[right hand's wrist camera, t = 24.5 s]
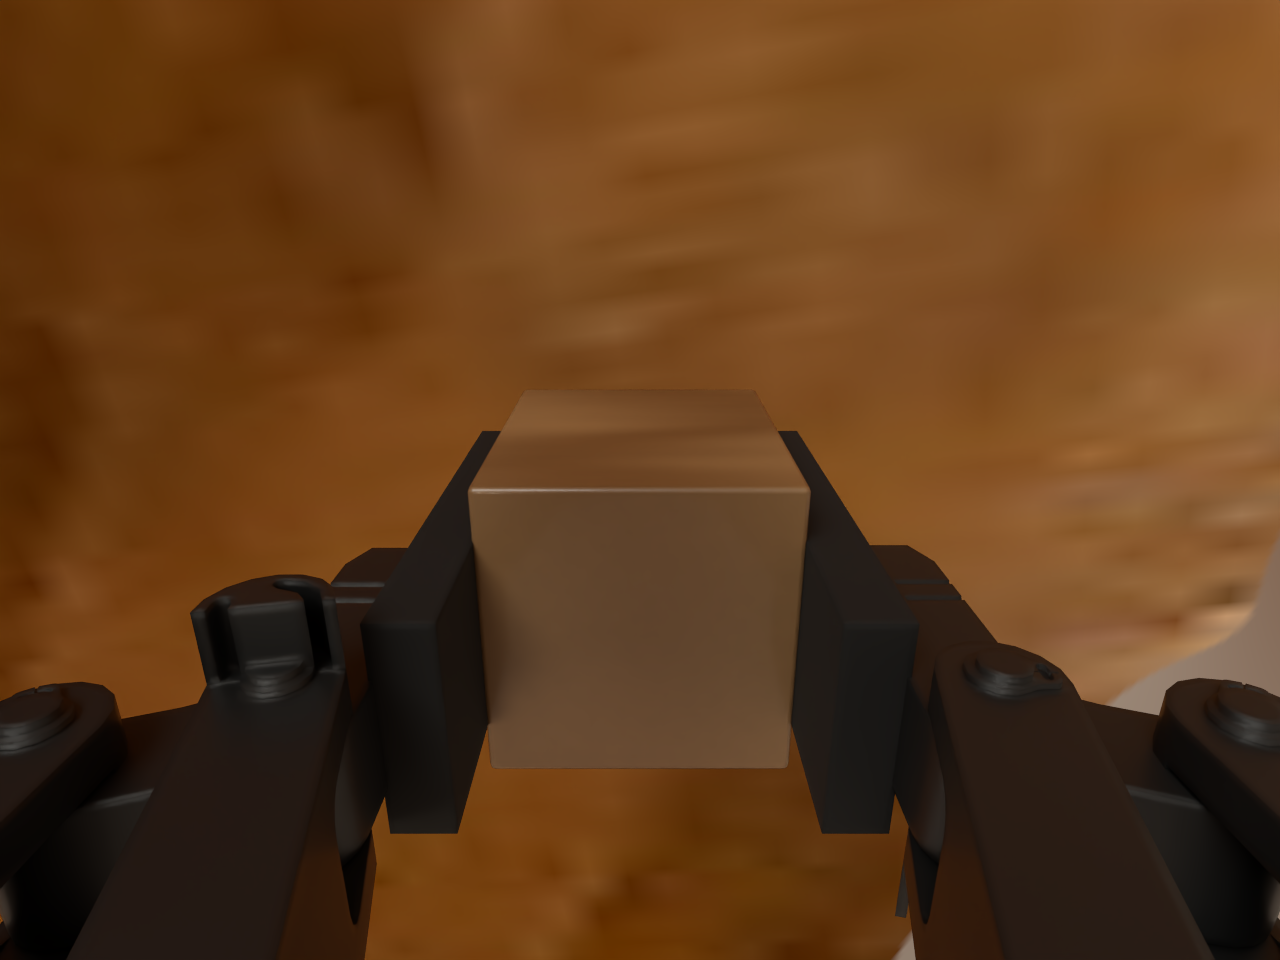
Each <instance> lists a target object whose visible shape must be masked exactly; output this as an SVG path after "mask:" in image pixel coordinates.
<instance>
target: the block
mask: <svg viewBox="0 0 1280 960" xmlns="http://www.w3.org/2000/svg"><path fill="white" fill-rule="evenodd" d="M810 496H811V491H810V488H809V486H808V484H807V482H806V481H805V479H804V477H803V475H802V474H801V472H800V470H799V468H798V466H797V465H796V463H795V461H794V459H793V458H792V456H791V454H790V452H789V451H788V449H787V447H786V445H785V443H784V442H783V440H782V438H781V436H780V435H779V433H778V431H777V429H776V428H775V426H774V424H773V422H772V420H771V419H770V417H769V415H768V413H767V412H766V410H765V408H764V406H763V404H762V403H761V401H760V399H759V397H758V396H757V394H756V392H755V391H753V390H526V391H524V392H523V394H522V396H521V397H520V399H519V401H518V403H517V404H516V406H515V408H514V410H513V411H512V413H511V415H510V417H509V418H508V420H507V422H506V424H505V425H504V427H503V429H502V431H501V432H500V434H499V436H498V438H497V439H496V441H495V443H494V445H493V447H492V448H491V450H490V452H489V454H488V455H487V457H486V459H485V461H484V462H483V464H482V466H481V468H480V469H479V471H478V473H477V475H476V476H475V478H474V480H473V482H472V483H471V485H470V487H469V490H468V502H469V514H470V526H471V538H472V542H473V552H474V564H475V576H476V588H477V600H478V612H479V624H480V636H481V648H482V660H483V672H484V684H485V696H486V708H487V720H488V726H487V728H488V740H489V752H490V763H491V765H492V767H493V768H496V769H783V768H786V767H787V765H788V762H789V750H790V738H791V726H792V725H791V721H792V708H793V696H794V684H795V672H796V660H797V648H798V636H799V624H800V611H801V599H802V587H803V575H804V563H805V551H806V541H807V532H808V520H809V508H810Z"/></svg>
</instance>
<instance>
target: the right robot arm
mask: <svg viewBox="0 0 1280 960" xmlns="http://www.w3.org/2000/svg"><path fill="white" fill-rule="evenodd" d="M500 432H501V431H482V433H481V434H480V436H479V437H478V439H477V440H476V442H475V444H474V445H473V447H472V448H471V450H470V451H469V453H468V455H467V456H466V458H465V459H464V461H463V462H462V464H461V466H460V467H459V469H458V470H457V472H456V473H455V475H454V477H453V478H452V480H451V481H450V483H449V484H448V486H447V488H446V489H445V491H444V492H443V494H442V495H441V497H440V499H439V500H438V502H437V503H436V505H435V506H434V508H433V510H432V511H431V513H430V514H429V516H428V517H427V519H426V521H425V522H424V524H423V525H422V527H421V528H420V530H419V532H418V533H417V535H416V536H415V538H414V539H413V541H412V543H411V544H410V546H409V547H408V548H371V549H370V550H368V551H367V552H365V553H363V554H362V555H360V556H358V557H357V558H355V559H353V560H352V561H350V562H348V563H347V564H345V566H344V567H343V568H342V569H341V571H340V572H339V573H338V575H337V576H336V577H335V578H334V580H333V581H332V582H331V585H330V584H328V583H327V582H326V581H324V580H323V579H320V578H316V577H312V576H307V575H274V576H268V577H262V578H256V579H251V580H248V581H245V582H242V583H239V584H236V585H232V586H229V587H226V588H224V589H222V590H220V591H219V592H217V593H215V594H213V595H211V596H209V597H207V598H206V599H204V600H203V601H202V602H201V603H200V604H199V605H198V606H197V607H196V608H194V609H193V610H192V611H191V612H190V615H191V619H192V623H193V628H194V632H195V636H196V640H197V645H198V649H199V653H200V658H201V662H202V666H203V670H204V675H205V679H206V683H207V686H206V688H205V690H204V692H203V694H202V696H201V698H200V700H199V702H198V704H194V705H190V706H186V707H182V708H177V709H172V710H166V711H161V712H156V713H151V714H145V715H140V716H135V717H130V718H124V719H121V717H120V713H119V709H118V706H117V702H116V699H115V695H114V694H113V693H112V692H111V691H109V690H108V689H107V688H106V687H104V686H103V685H98V684H92V683H86V682H74V683H62V684H49V685H44V686H39V687H38V688H37V689H35V687H34V688H31V689H28V690H25V691H21V692H18V693H16V694H15V695H13V696H12V697H10V698H7V699H5V700H3V701H0V914H1V916H2V919H3V922H2V923H1V924H0V960H364V959H365V951H366V943H367V935H368V927H369V919H370V912H371V904H372V896H373V888H374V880H375V873H376V865H377V863H376V856H375V848H374V842H373V836H372V829H371V828H372V826H373V823H374V821H375V818H376V816H377V814H378V811H379V809H380V806H381V804H382V802H383V799H384V797H385V800H386V807H387V814H388V820H389V827H390V834H457V833H458V830H459V826H460V823H461V819H462V815H463V812H464V808H465V805H466V801H467V798H468V794H469V791H470V787H471V783H472V780H473V776H474V773H475V769H476V766H477V762H478V758H479V755H480V751H481V748H482V744H483V741H484V737H485V733H486V730H487V726H488V720H487V708H486V696H485V684H484V672H483V660H482V648H481V636H480V624H479V612H478V600H477V588H476V576H475V564H474V552H473V542H472V538H471V526H470V514H469V502H468V490H469V487H470V485H471V483H472V482H473V480H474V478H475V476H476V475H477V473H478V471H479V469H480V468H481V466H482V464H483V462H484V461H485V459H486V457H487V455H488V454H489V452H490V450H491V448H492V447H493V445H494V443H495V441H496V439H497V438H498V436H499V434H500ZM778 433H779V435H780V436H781V438H782V440H783V442H784V443H785V445H786V447H787V449H788V451H789V452H790V454H791V456H792V458H793V459H794V461H795V463H796V465H797V466H798V468H799V470H800V472H801V474H802V475H803V477H804V479H805V481H806V482H807V484H808V486H809V488H810V491H811V496H810V508H809V520H808V532H807V541H806V551H805V563H804V575H803V587H802V599H801V611H800V624H799V636H798V648H797V660H796V672H795V684H794V696H793V708H792V721H791V725H792V728H793V732H794V735H795V739H796V743H797V746H798V750H799V753H800V757H801V760H802V764H803V768H804V771H805V775H806V778H807V782H808V785H809V789H810V793H811V796H812V800H813V803H814V807H815V810H816V814H817V817H818V821H819V825H820V828H821V832H822V834H889V830H890V823H891V816H892V810H893V803H894V796H895V794H896V797H897V799H898V801H899V804H900V806H901V809H902V811H903V813H904V816H905V818H906V821H907V823H908V825H909V829H908V836H907V842H906V848H905V855H904V861H903V867H902V874H901V880H900V886H899V893H898V899H897V906H896V914H895V916H899V917H904V918H906V914H907V908H908V903H909V910H910V918H911V925H912V933H913V941H914V949H915V957H916V960H1280V920H1279V919H1278V914H1279V912H1280V697H1278V696H1275V695H1273V694H1270V693H1268V692H1267V691H1266V690H1264V689H1262V688H1259V687H1256V686H1252V685H1249V684H1246V685H1242V683H1241V682H1236V681H1231V680H1215V679H1204V678H1197V679H1190V680H1184V681H1178V682H1176V683H1175V684H1174V685H1173V686H1171V687H1170V688H1169V689H1168V690H1166V693H1165V696H1164V700H1163V703H1162V707H1161V710H1160V714H1159V715H1153V714H1148V713H1143V712H1137V711H1132V710H1127V709H1121V708H1116V707H1111V706H1106V705H1101V704H1096V703H1092V702H1088V701H1084V700H1081V698H1080V696H1079V694H1078V692H1077V690H1076V689H1075V687H1074V685H1073V683H1072V682H1071V681H1070V680H1069V679H1068V677H1067V676H1066V675H1065V674H1064V673H1063V671H1062V670H1061V669H1060V668H1058V667H1056V666H1055V665H1053V664H1052V663H1050V662H1049V661H1047V660H1046V659H1044V658H1042V657H1041V656H1039V655H1036V654H1034V653H1031V652H1028V651H1026V650H1023V649H1021V648H1018V647H1016V646H1011V645H1006V644H1001V643H998V642H997V641H996V640H995V639H994V637H993V636H992V635H991V633H990V632H989V631H988V630H987V628H986V627H985V626H984V625H983V623H982V622H981V621H980V619H979V618H978V617H977V616H976V614H975V613H974V612H973V610H972V609H971V608H970V607H969V605H968V604H967V603H966V601H965V600H961V595H960V594H959V593H958V591H957V590H956V589H955V587H954V586H953V585H952V584H949V580H948V578H947V577H946V576H945V575H944V573H943V572H942V571H941V569H940V568H939V567H938V566H937V564H936V563H935V562H934V561H933V560H931V559H929V558H928V557H926V556H924V555H923V554H921V553H919V552H918V551H916V550H914V549H913V548H911V547H909V546H908V545H869V543H868V542H867V540H866V539H865V537H864V536H863V534H862V532H861V531H860V529H859V528H858V526H857V525H856V523H855V521H854V520H853V518H852V517H851V515H850V514H849V512H848V510H847V509H846V507H845V506H844V504H843V503H842V501H841V499H840V498H839V496H838V495H837V493H836V492H835V490H834V488H833V487H832V485H831V484H830V482H829V481H828V479H827V478H826V476H825V474H824V473H823V471H822V470H821V468H820V467H819V465H818V463H817V462H816V460H815V459H814V457H813V456H812V454H811V452H810V451H809V449H808V448H807V446H806V445H805V443H804V441H803V440H802V438H801V437H800V435H799V434H798V432H797V431H778Z"/></svg>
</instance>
